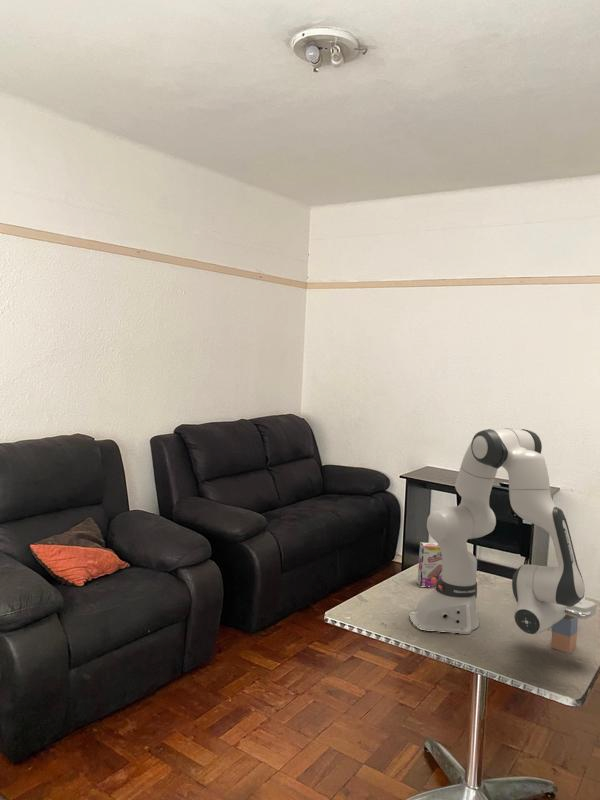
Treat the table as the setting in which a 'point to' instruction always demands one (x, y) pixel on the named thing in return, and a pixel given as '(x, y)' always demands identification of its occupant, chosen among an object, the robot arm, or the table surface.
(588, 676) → the table surface
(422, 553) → the candy bar box
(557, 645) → the terracotta block
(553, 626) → the slate block
